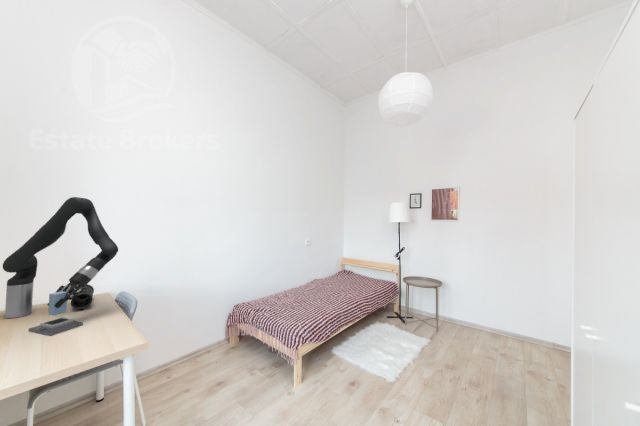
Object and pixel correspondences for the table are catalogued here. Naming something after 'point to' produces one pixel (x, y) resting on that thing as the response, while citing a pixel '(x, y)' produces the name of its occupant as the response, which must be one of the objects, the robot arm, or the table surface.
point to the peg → (53, 300)
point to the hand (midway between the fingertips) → (52, 306)
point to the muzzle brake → (83, 298)
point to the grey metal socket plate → (55, 326)
